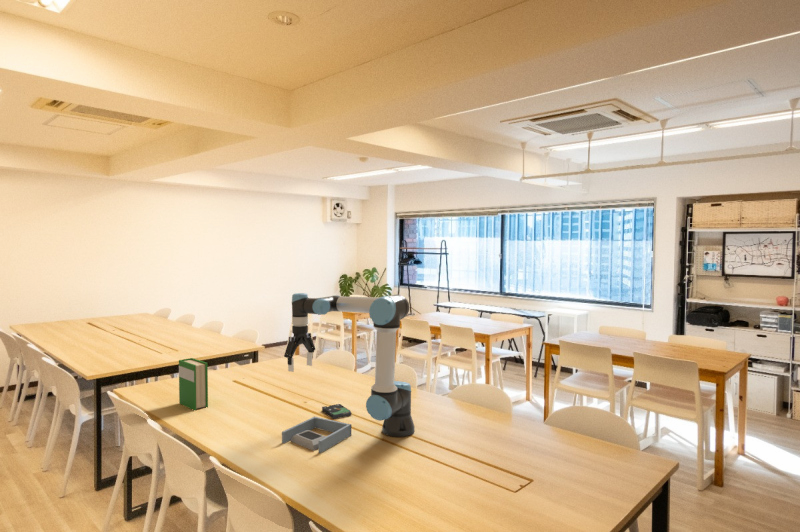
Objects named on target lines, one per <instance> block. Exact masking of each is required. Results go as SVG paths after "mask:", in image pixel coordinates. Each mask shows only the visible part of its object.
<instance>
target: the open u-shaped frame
mask: <svg viewBox="0 0 800 532" xmlns="http://www.w3.org/2000/svg"><path fill="white" fill-rule="evenodd" d="M314 429H317V430H322V431H325V432H326V431H327V432H330V434H328V435H327V436H326V435H325V436H326V437H324V438H323V439H321V440H319V449H318V453H320V454H322V453H324V452H325V451H327V450H329V449H330V448H332V447H334V446H335V445H337V444H339V443H340V442H342V441H344V440H346V439H347V438H349V437H351V436H352V424H350V423H347V422H344V421H343V422H341V421H338V420H334V419H328V418H323V417H318V416H312V417H310V418H308V419H306V420H304V421H302V422H299V423H298V424H296V425H293V426H291V427H289V428H287V429H285V430H283V431H282V432H281V444H286V443H288V442H291V437H292V436H294V435H296V434H298V433H301V432H304V431H307V430H310V431H312V430H314Z"/></svg>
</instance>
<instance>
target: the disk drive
mask: <svg viewBox="0 0 800 532" xmlns="http://www.w3.org/2000/svg"><path fill="white" fill-rule="evenodd" d="M321 411H322V412H323V413H324V412H325V413H324V414H326V415H327V416H329V417H330V418H331V419H332V420H337V419H341V418H346V417H351V416H352V412H351V410H350V409H349V408H347V407H345V406H344V405H342V404H340V403H337V404H332V405H331V404H330V405H329V406H324V405H323V406H322V407H321Z"/></svg>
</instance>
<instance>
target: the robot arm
mask: <svg viewBox="0 0 800 532" xmlns="http://www.w3.org/2000/svg"><path fill="white" fill-rule="evenodd" d="M329 312H330V313H331V312H344V313H345V312H346V313H364V314H365V313H366V314H368V315H369V317H370V320H371V321H372V323H373V325H372V326H373V328H374V329H375V330H376V341H375V343H376V344H375V371H374V372H375V373H374V383H373V385H372V386H371V388H370V389H371V391H370V396H369V397H368V398H367V399H366V401H365V408H366V411H367V413H368V414H369V415H370V417H371V418H372V419H374V420H376V421H382V422H383V423H382V427H381V429H382V433H383V434H384V435H386V436H389V437H395V438H400V437H408V436H411V435H413V434H414V433H415V430H416V429H415V423H414V420H413V416H412V386H411V384H410V383H409V382H407V381H399V380H395V373H396V372H395V371H396V369H395V368H396V347H397V346H396V345H397V344H396V343H397V331H398V330H399V329H400V328H401V320H403V319H404V318H406V317H407V316H408V314H409V312H410V302H409V300H408V299H407V298H406V297H405V296H404V295H401V294H392V295H384V296H380V297H379V296H378V297H375V296H374V297H371V296H370V297H369V296H363V297H362V296H340V295H331V296H325V297H316V298H315V297H314V298H313V297H312V298H311V297H309V295H308V293H306V292H305V293H304V292H298V293H296V292H295V293H293V294H292V297H291V315H292V316H291V319H292V320H291V321H292V322H291V324H292V326H291V332H292V334H293V335H292V336H288V340H287V341H288V342H287V345H286V348H285V351H284V355H283V356H284V358H286V359H287V366H288V367H287V371H288V372H291V373H293V372H294V370H295V369H294V367H295V366H294V364H295V363H294V359H295V358H294V354H295V352H296V351H297V348H298V347H299V346H300V345H303V346H304V347H305V350H307V352H306V366H310V367H312V366H313V353H315V351H316V347H315V344H314V341H313V339H312V333H311V332H309V327H308V326H309V314H311V315H317V316H320V315H327V314H328V313H329Z"/></svg>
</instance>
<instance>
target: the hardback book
mask: <svg viewBox="0 0 800 532" xmlns="http://www.w3.org/2000/svg"><path fill="white" fill-rule="evenodd" d="M208 367H209V366H208V362H205V361H203V360H199V359H196V358H193V357H189V358H184V359H179V360H178V390H179V391H178V397H179V401H178V402H179V403H180V404H179V405H182V406H183V405H184V407H186V408H188V409H190V410H192V409H193V410H192V411H194V410H196V411H197V409H201V408H206V407H207V408H209V388H208V387H209V385H208V384H209V382H208V380H209V378H208V373H209V372H208V371H209V370H208Z"/></svg>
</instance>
